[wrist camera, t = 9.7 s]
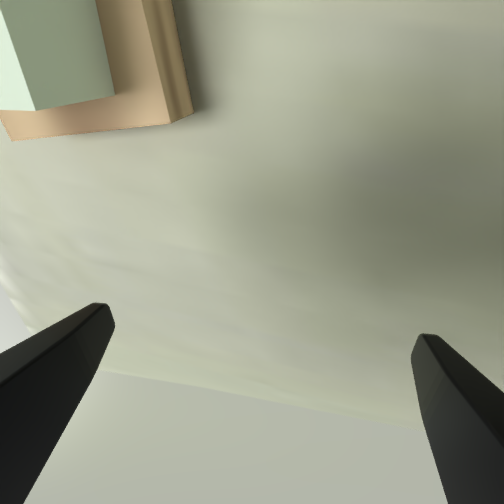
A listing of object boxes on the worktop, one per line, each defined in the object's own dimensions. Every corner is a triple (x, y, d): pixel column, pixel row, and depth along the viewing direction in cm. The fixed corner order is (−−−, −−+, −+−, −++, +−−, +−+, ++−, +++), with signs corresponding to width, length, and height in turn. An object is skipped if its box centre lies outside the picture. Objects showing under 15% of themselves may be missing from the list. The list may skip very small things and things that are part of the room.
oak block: (151, -115, 13) (98, -176, 10) (195, 111, 18) (170, 123, 14) (-19, -69, 15) (-114, -107, 11) (62, 127, 19) (11, 141, 16)
